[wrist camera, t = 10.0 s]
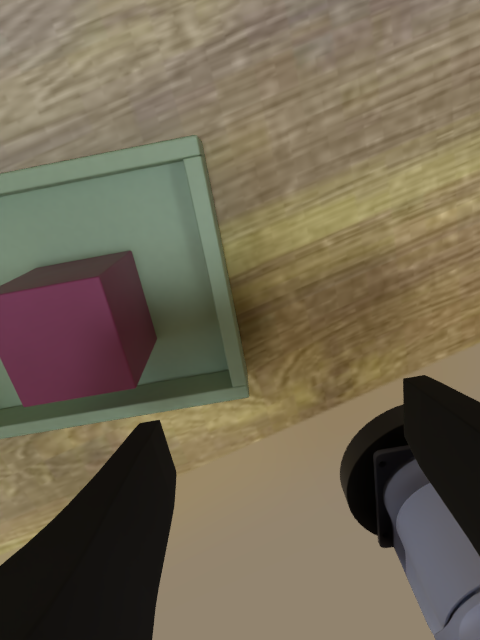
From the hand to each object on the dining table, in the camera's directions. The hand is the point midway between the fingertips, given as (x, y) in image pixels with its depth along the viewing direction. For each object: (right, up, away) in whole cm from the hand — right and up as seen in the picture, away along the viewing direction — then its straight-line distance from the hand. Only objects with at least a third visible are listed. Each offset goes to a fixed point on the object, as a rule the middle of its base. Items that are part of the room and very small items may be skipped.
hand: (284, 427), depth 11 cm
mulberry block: (-8, +4, +7) cm, 11 cm away
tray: (-9, +4, +7) cm, 13 cm away
